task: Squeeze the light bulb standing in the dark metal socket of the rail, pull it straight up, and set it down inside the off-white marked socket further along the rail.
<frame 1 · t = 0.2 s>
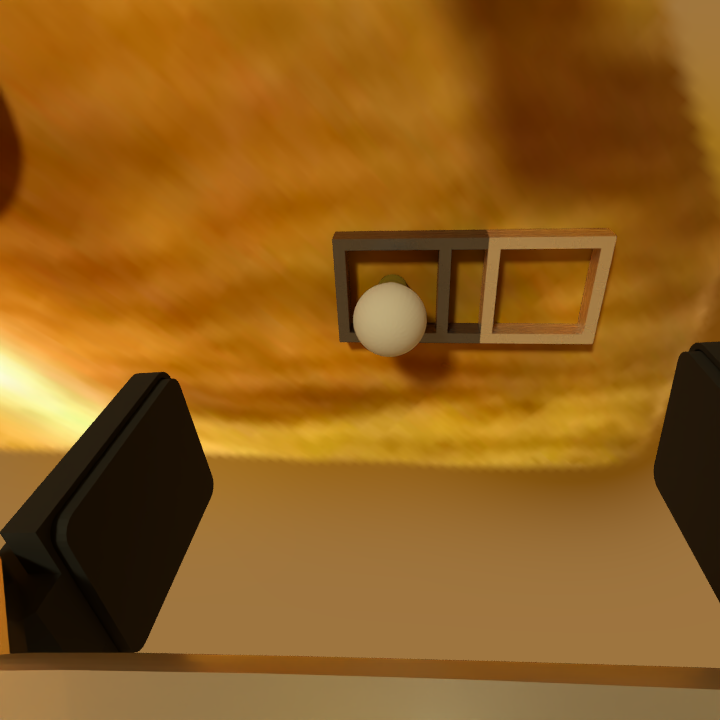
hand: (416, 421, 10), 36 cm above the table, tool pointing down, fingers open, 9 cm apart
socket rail: (459, 284, 47), on the table
light bulb: (393, 283, 48), resting in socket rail
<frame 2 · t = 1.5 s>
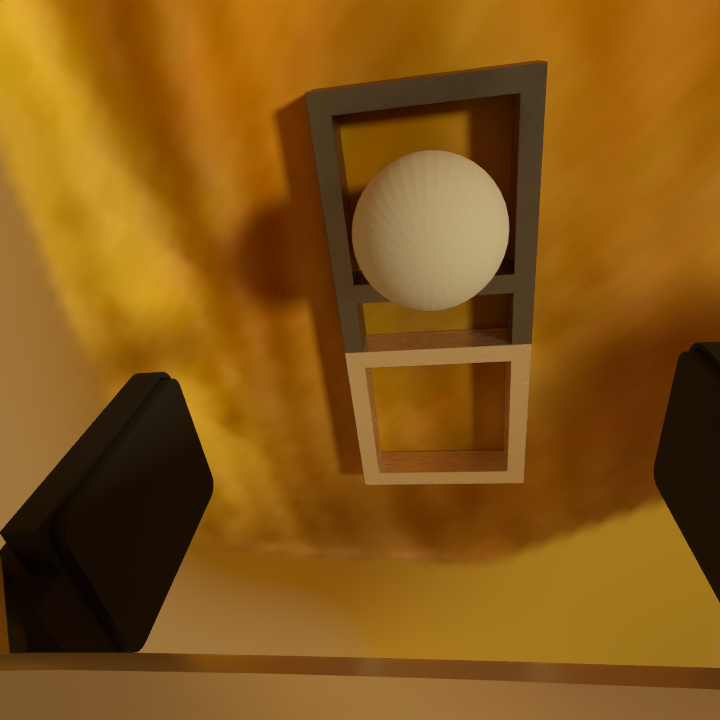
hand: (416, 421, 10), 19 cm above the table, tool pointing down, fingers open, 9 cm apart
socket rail: (433, 299, 29), on the table
light bulb: (427, 188, 26), resting in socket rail
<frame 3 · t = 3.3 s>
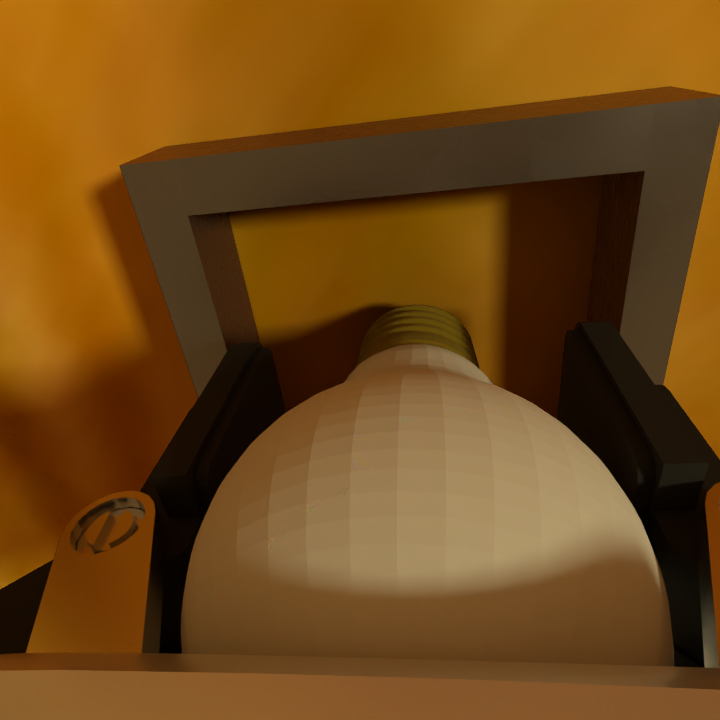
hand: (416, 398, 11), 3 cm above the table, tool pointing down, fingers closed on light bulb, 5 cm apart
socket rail: (428, 509, 16), on the table
light bulb: (416, 334, 13), resting in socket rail, touching gripper
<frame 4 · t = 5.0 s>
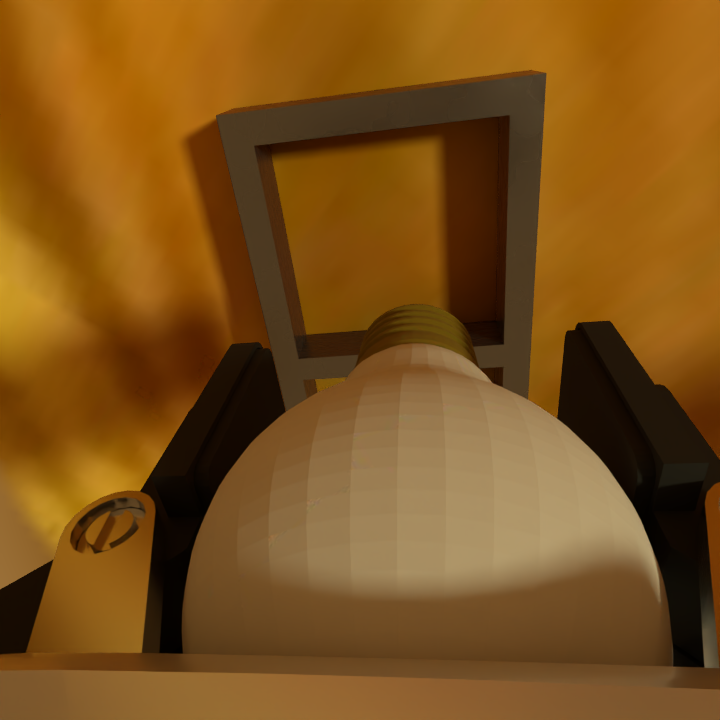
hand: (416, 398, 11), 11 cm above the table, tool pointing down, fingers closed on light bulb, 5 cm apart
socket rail: (402, 368, 23), on the table
light bulb: (416, 333, 13), point 8 cm above the table, touching gripper
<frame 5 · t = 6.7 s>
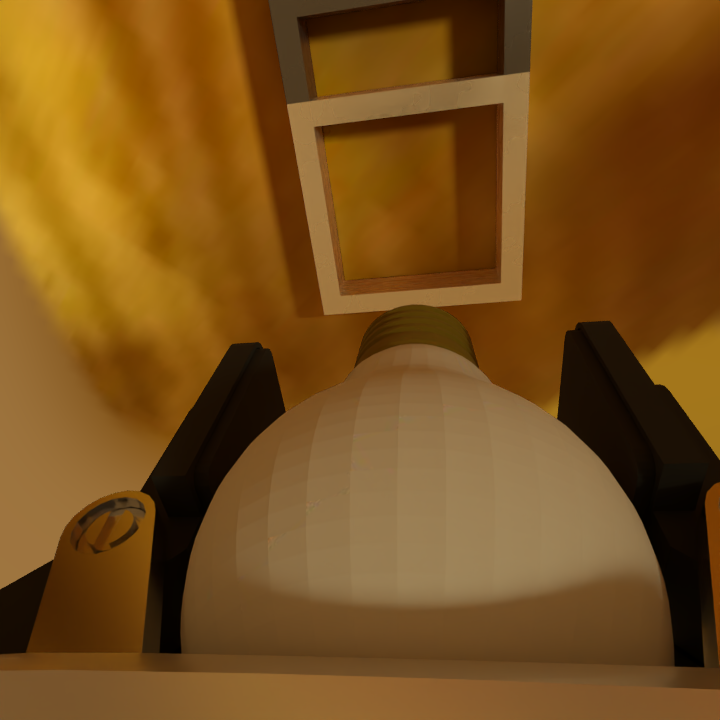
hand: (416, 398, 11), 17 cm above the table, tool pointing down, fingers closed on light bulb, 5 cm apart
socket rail: (401, 32, 22), on the table
light bulb: (416, 334, 13), point 15 cm above the table, touching gripper
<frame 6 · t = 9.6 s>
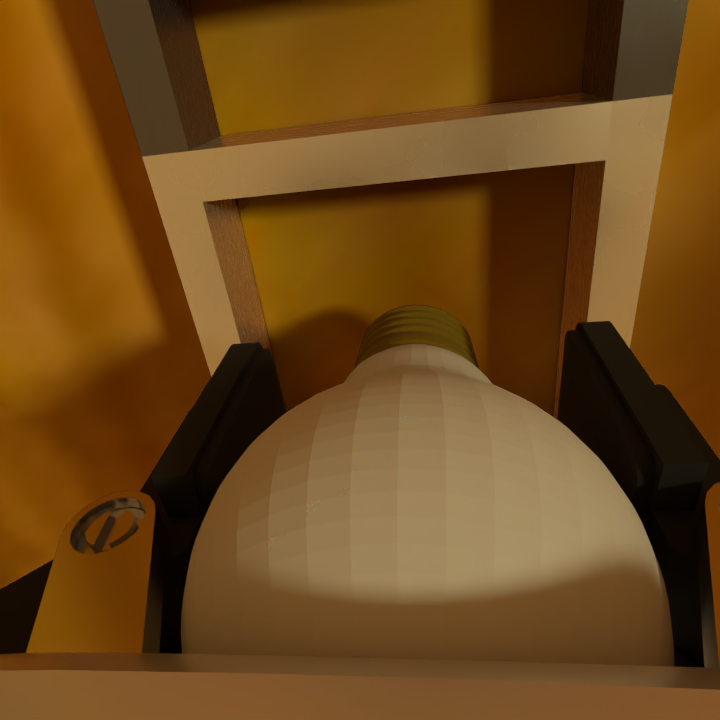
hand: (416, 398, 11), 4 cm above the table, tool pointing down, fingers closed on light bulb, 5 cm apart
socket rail: (384, 7, 10), on the table
light bulb: (415, 334, 13), point 1 cm above the table, touching gripper
when the fingers open (4 cm above the table, at t = 10.1 s): light bulb drops 1 cm, resting in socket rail.
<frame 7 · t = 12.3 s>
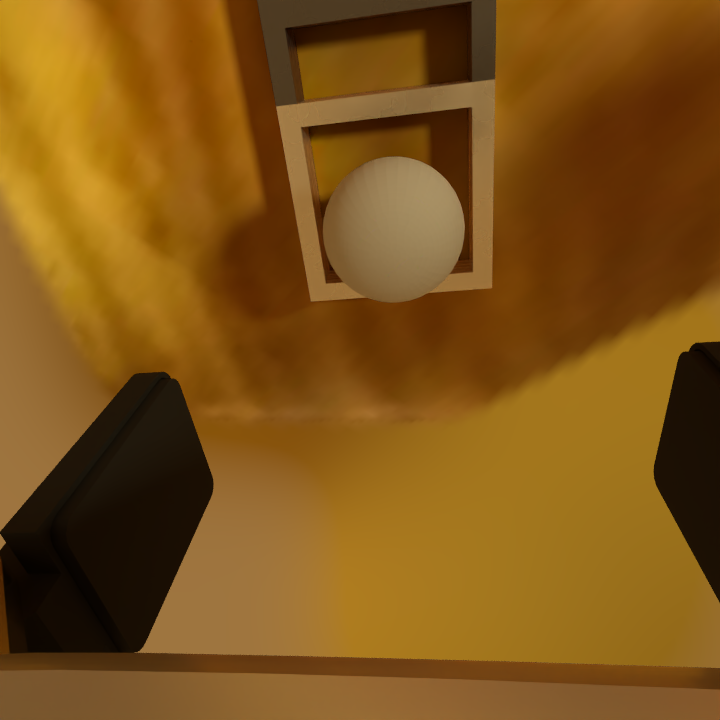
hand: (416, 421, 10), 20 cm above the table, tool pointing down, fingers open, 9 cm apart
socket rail: (380, 42, 24), on the table
light bulb: (392, 192, 28), resting in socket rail
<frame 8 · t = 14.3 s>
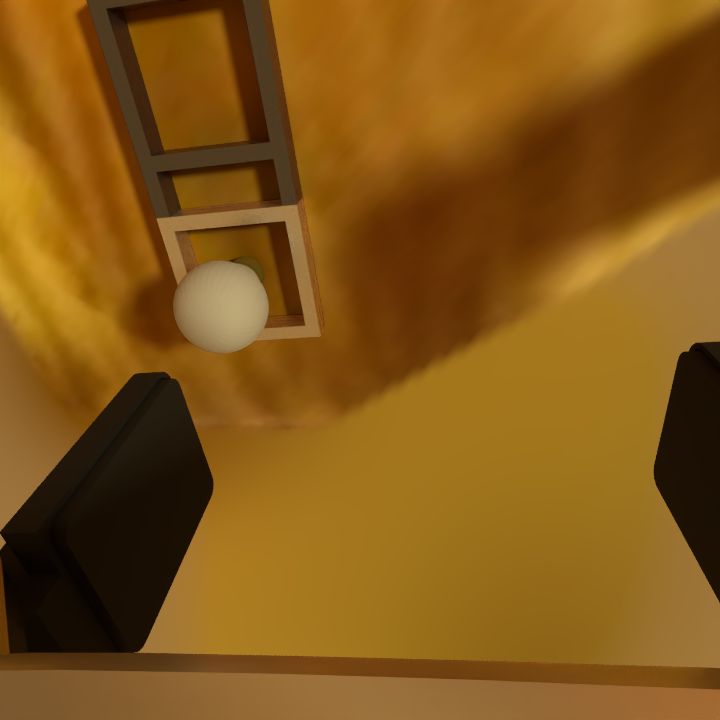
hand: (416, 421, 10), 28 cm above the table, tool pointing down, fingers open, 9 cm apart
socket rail: (227, 174, 36), on the table
light bulb: (250, 268, 40), resting in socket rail
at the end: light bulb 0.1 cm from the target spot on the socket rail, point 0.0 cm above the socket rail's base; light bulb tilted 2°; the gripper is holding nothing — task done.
